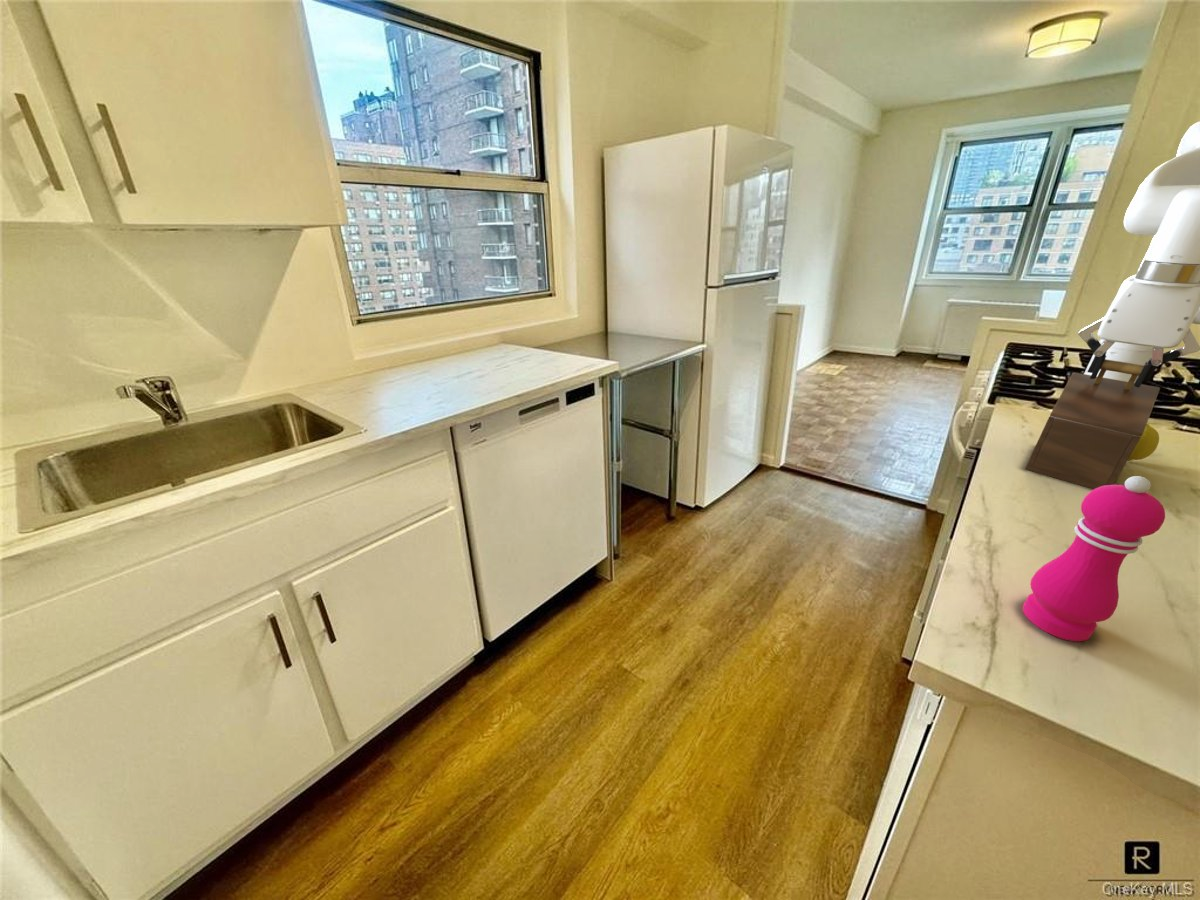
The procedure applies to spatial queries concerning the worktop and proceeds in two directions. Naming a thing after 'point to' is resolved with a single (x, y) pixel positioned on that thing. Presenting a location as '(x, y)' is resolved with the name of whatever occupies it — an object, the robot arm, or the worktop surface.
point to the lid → (1108, 400)
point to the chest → (1081, 453)
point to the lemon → (1145, 444)
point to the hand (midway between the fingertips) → (1115, 380)
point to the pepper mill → (1093, 560)
